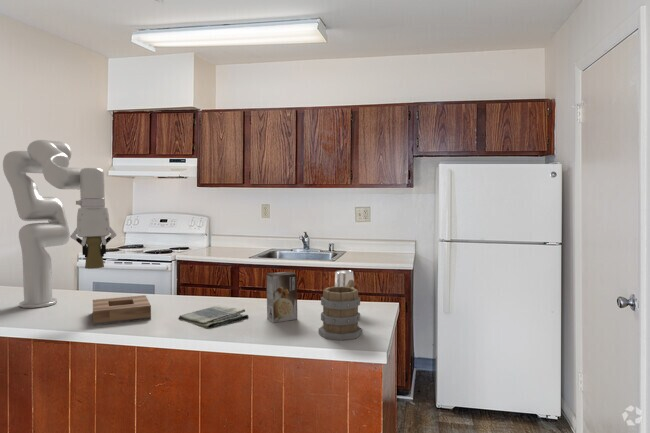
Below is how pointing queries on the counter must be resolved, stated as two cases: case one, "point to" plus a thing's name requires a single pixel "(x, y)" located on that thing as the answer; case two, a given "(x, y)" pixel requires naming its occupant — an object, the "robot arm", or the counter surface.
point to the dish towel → (214, 316)
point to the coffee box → (281, 296)
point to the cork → (94, 253)
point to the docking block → (121, 310)
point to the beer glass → (343, 277)
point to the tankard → (340, 313)
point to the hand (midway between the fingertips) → (94, 256)
